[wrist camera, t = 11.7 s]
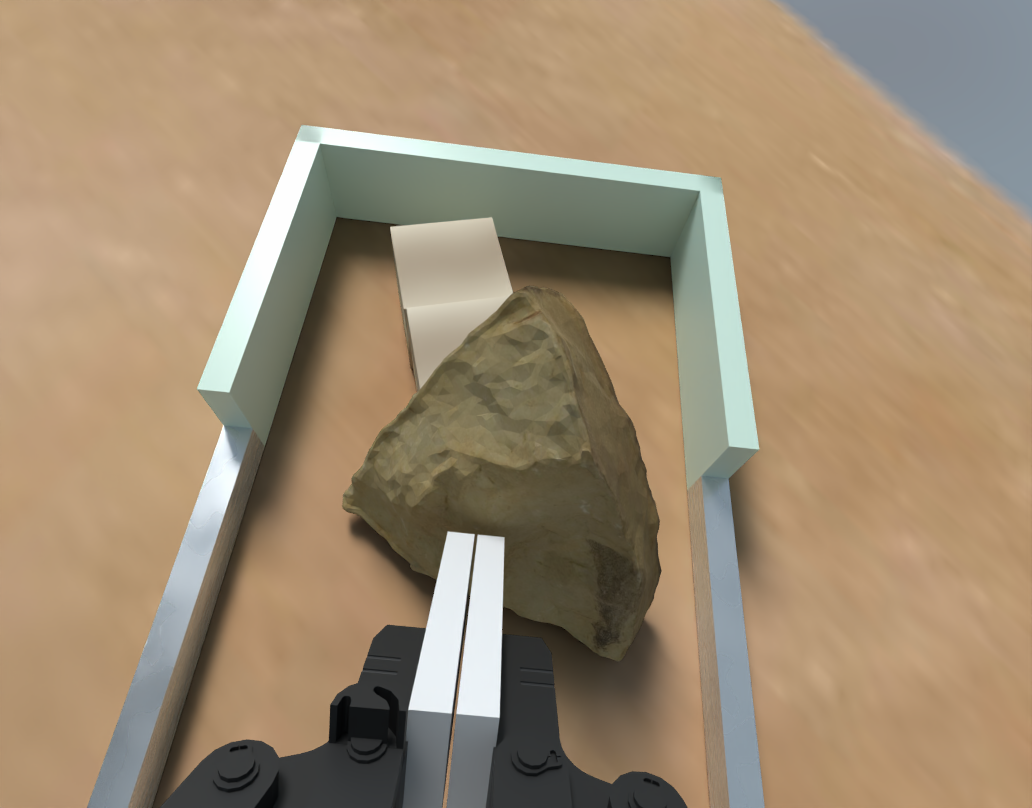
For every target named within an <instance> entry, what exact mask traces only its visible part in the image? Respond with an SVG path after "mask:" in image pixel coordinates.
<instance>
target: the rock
mask: <svg viewBox="0 0 1032 808" xmlns="http://www.w3.org/2000/svg"><path fill="white" fill-rule="evenodd" d="M646 472H647V470H646V467H645V464H644V462H643V461H642V458H641V452H640V446H639V443H638V440H637V437H636V431H635V428H634V425H633V423H632V421H631V419H630V418H629V416H628V415H627V413H626V412H625V410H624V409H623V408H622V407H621V406H620V405H619V403H618V400H617V397H616V395H615V391H614V388H613V385H612V382H611V379H610V377H609V375H608V373H607V370H606V368H605V366H604V364H603V361H602V359H601V357H600V355H599V353H598V351H597V349H596V347H595V345H594V343H593V341H592V339H591V337H590V335H589V333H588V330H587V327H586V324H585V322H584V319H583V317H582V316H581V315H580V314H579V312H578V311H577V310H576V309H575V308H574V306H573V305H572V304H571V303H570V302H569V301H568V300H567V299H566V297H565V296H564V295H563V294H561V293H559V292H557V291H554V290H552V289H549V288H545V287H541V288H539V287H536V286H527V287H524V288H522V289H520V290H518V291H516V292H514V293H512V294H511V295H510V296H509V297H508V298H507V299H506V300H505V301H504V303H503V304H502V305H501V306H500V307H499V308H498V310H497V311H496V312H494V313H493V314H492V315H491V316H490V317H489V318H488V319H487V320H485V321H484V322H483V323H481V324H480V325H479V326H477V327H476V328H475V329H474V330H472V331H471V332H470V333H469V334H468V335H467V336H466V338H465V339H464V341H463V342H462V344H461V345H460V346H459V347H457V348H456V349H455V350H453V351H452V352H451V353H450V354H449V355H448V356H446V357H445V358H444V359H443V361H442V362H441V363H440V365H439V366H438V367H437V368H436V369H435V370H434V372H433V373H432V374H431V376H430V377H429V378H428V380H427V381H426V383H425V384H424V385H423V386H422V387H421V388H420V390H419V391H418V392H417V393H415V394H414V395H413V396H412V398H411V400H410V402H409V403H408V405H407V407H406V408H405V409H403V410H402V411H401V412H400V413H399V414H398V415H397V417H396V418H395V419H394V420H393V421H392V422H391V423H389V424H388V425H387V426H385V427H384V428H383V429H382V430H381V431H380V433H379V434H378V436H377V437H376V439H375V441H374V443H373V445H372V446H371V448H370V449H369V451H368V454H367V456H366V459H365V461H364V464H363V465H362V467H361V468H360V469H359V470H358V471H357V472H356V473H355V474H354V475H353V477H352V484H351V486H350V487H349V489H348V490H346V491H345V493H344V494H343V505H342V507H343V509H344V510H345V511H347V512H349V513H353V514H356V515H358V516H360V517H362V518H363V519H364V520H365V521H366V522H367V523H368V524H369V525H370V526H371V527H372V528H373V529H374V530H375V531H376V532H377V533H378V534H379V535H381V536H382V537H384V538H385V539H386V540H387V541H388V542H389V544H390V546H391V547H392V548H393V550H394V551H395V552H396V553H398V554H399V555H400V556H402V557H403V558H404V559H405V560H407V561H408V562H409V563H410V564H411V566H410V567H411V568H412V570H414V571H416V572H419V573H422V574H425V575H428V576H430V577H432V578H434V579H436V580H437V578H438V573H439V569H440V564H441V560H442V555H443V551H444V546H445V542H446V537H447V533H448V532H457V533H467V534H475V536H474V545H473V554H472V564H471V573H470V583H469V592H468V595H470V596H471V587H472V579H473V570H474V562H475V553H476V545H477V536H478V535H487V536H497V537H505V538H504V575H503V607H505V608H509V609H512V610H513V611H514V612H515V613H516V614H517V615H518V616H521V617H525V618H528V619H531V620H534V621H538V622H546V623H551V624H554V625H557V626H560V627H563V628H564V629H566V630H567V631H568V632H569V633H570V634H571V635H572V636H573V637H575V638H576V639H578V640H579V641H581V642H582V643H584V644H585V645H586V646H588V647H589V648H590V649H591V650H592V651H593V652H595V653H596V654H598V655H600V656H603V657H607V658H610V659H612V660H615V661H617V662H618V661H621V660H622V659H623V657H624V655H625V653H626V652H627V650H628V648H629V646H630V644H631V643H632V642H633V641H634V639H635V636H636V634H637V632H638V631H639V629H640V626H641V624H642V622H643V620H644V617H645V614H646V612H647V610H648V609H649V607H650V605H651V603H652V601H653V599H654V593H655V590H656V587H657V585H658V582H659V578H660V574H661V567H660V562H659V558H658V543H657V533H658V530H659V523H660V520H659V516H658V513H657V509H656V504H655V501H654V499H653V497H652V494H651V490H650V488H649V485H648V481H647V477H646Z"/></svg>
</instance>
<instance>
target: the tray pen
mask: <svg viewBox="0 0 1032 808" xmlns="http://www.w3.org/2000/svg"><path fill="white" fill-rule="evenodd" d="M337 217H341V218H349V219H357V220H366V221H374V222H382V223H391V224H399V225H415V224H426V223H437V222H447V221H458V220H469V219H480V218H490V217H492V219H493V223H494V226H495V230H496V233H497V236H499V237H507V238H515V239H524V240H532V241H540V242H549V243H557V244H565V245H574V246H582V247H590V248H599V249H607V250H615V251H624V252H632V253H640V254H649V255H657V256H665V257H670V258H671V272H672V286H673V300H674V314H675V328H676V342H677V355H678V369H679V383H680V397H681V411H682V425H683V438H684V452H685V466H686V480H687V490H688V489H689V488H690V487H691V486H692V485H693V484H694V483H695V482H696V481H697V480H698V479H699V478H700V477H701V476H708V477H718V478H727V479H729V478H730V477H731V476H732V475H733V474H734V473H735V472H736V471H737V470H738V469H739V468H740V467H741V466H742V465H743V464H744V463H745V462H747V461H748V460H749V459H750V458H751V457H752V456H753V455H754V454H755V453H756V452H757V451H758V450H759V445H758V438H757V431H756V423H755V416H754V409H753V402H752V395H751V388H750V381H749V374H748V367H747V360H746V352H745V345H744V338H743V331H742V324H741V317H740V310H739V303H738V296H737V289H736V281H735V274H734V267H733V260H732V253H731V246H730V239H729V232H728V225H727V218H726V210H725V203H724V196H723V189H722V182H721V178H719V177H711V176H703V175H695V174H687V173H679V172H671V171H663V170H655V169H647V168H639V167H631V166H623V165H616V164H608V163H600V162H592V161H584V160H576V159H568V158H560V157H552V156H544V155H536V154H528V153H520V152H512V151H505V150H497V149H489V148H481V147H473V146H465V145H457V144H449V143H441V142H433V141H425V140H417V139H409V138H402V137H394V136H386V135H378V134H370V133H362V132H354V131H346V130H338V129H330V128H322V127H314V126H306V125H301V128H300V130H299V133H298V135H297V138H296V140H295V143H294V145H293V148H292V150H291V153H290V155H289V158H288V160H287V163H286V166H285V168H284V171H283V173H282V176H281V178H280V181H279V183H278V186H277V188H276V191H275V193H274V196H273V198H272V201H271V203H270V206H269V208H268V211H267V213H266V216H265V218H264V221H263V224H262V226H261V229H260V231H259V234H258V236H257V239H256V241H255V244H254V246H253V249H252V251H251V254H250V256H249V259H248V261H247V264H246V266H245V269H244V271H243V274H242V276H241V279H240V281H239V284H238V287H237V289H236V292H235V294H234V297H233V299H232V302H231V304H230V307H229V309H228V312H227V314H226V317H225V319H224V322H223V324H222V327H221V329H220V332H219V334H218V337H217V339H216V342H215V345H214V347H213V350H212V352H211V355H210V357H209V360H208V362H207V365H206V367H205V370H204V372H203V375H202V377H201V380H200V382H199V385H198V387H197V390H198V391H199V393H200V394H201V395H202V397H203V398H204V399H205V401H206V402H207V403H208V405H209V406H210V407H211V409H212V410H213V411H214V413H215V414H216V416H217V417H218V418H219V420H220V421H221V422H222V424H223V425H224V426H233V427H243V428H252V429H253V430H254V431H255V433H256V434H257V436H258V437H259V439H260V440H261V442H262V443H263V445H264V446H265V444H266V441H267V438H268V435H269V432H270V428H271V425H272V422H273V419H274V416H275V412H276V409H277V406H278V403H279V400H280V397H281V393H282V390H283V387H284V384H285V381H286V377H287V374H288V371H289V368H290V365H291V361H292V358H293V355H294V352H295V349H296V345H297V342H298V339H299V336H300V333H301V329H302V326H303V323H304V320H305V317H306V313H307V310H308V307H309V304H310V301H311V298H312V294H313V291H314V288H315V285H316V282H317V278H318V275H319V272H320V269H321V266H322V262H323V259H324V256H325V253H326V250H327V246H328V243H329V240H330V237H331V234H332V230H333V227H334V224H335V221H336V218H337Z"/></svg>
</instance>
